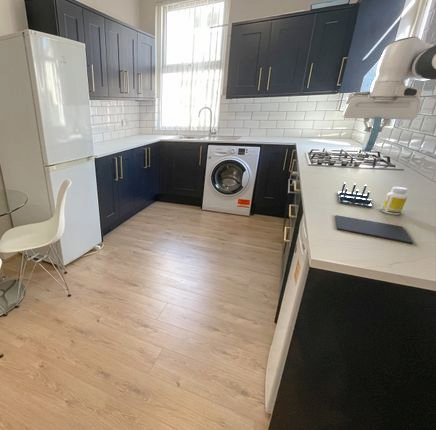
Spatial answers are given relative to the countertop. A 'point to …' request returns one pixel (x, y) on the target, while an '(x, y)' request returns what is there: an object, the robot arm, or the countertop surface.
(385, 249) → the countertop surface
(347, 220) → the mat
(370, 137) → the plate
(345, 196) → the dish rack
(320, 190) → the countertop surface
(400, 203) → the supplement bottle
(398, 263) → the countertop surface
